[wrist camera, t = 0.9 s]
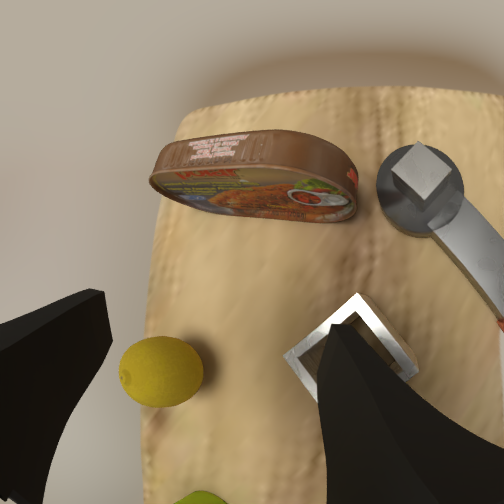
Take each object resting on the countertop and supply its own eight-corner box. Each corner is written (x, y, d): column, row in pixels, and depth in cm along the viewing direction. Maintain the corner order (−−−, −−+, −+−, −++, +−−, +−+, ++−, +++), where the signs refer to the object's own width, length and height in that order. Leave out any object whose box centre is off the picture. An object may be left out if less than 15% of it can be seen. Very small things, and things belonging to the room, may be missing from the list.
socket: (415, 355, 16) (419, 371, 12) (354, 402, 18) (337, 429, 13) (368, 296, 19) (357, 293, 14) (310, 345, 20) (282, 355, 16)
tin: (195, 213, 27) (123, 183, 20) (203, 181, 27) (136, 143, 20) (365, 228, 20) (338, 182, 12) (369, 186, 20) (344, 121, 13)
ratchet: (582, 349, 9) (610, 356, 5) (531, 411, 11) (553, 432, 7) (414, 141, 18) (412, 108, 15) (362, 195, 20) (350, 170, 16)
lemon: (205, 323, 24) (129, 324, 18) (233, 383, 22) (160, 406, 15) (164, 349, 26) (92, 354, 19) (187, 403, 24) (116, 423, 17)
